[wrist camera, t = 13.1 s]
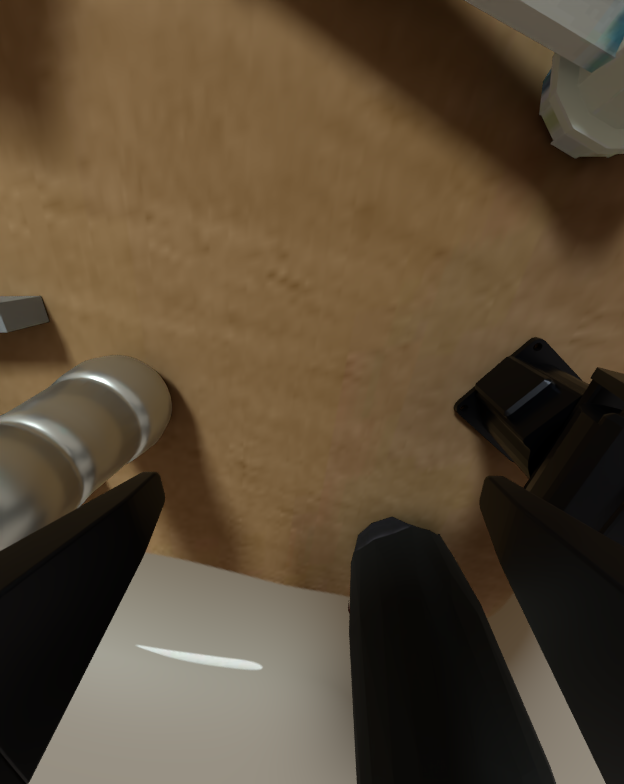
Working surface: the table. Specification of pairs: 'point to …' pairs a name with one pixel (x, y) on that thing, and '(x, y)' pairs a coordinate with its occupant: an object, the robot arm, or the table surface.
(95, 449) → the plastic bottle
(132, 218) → the table surface
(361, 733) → the portable speaker
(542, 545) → the robot arm
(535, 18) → the grey piece
